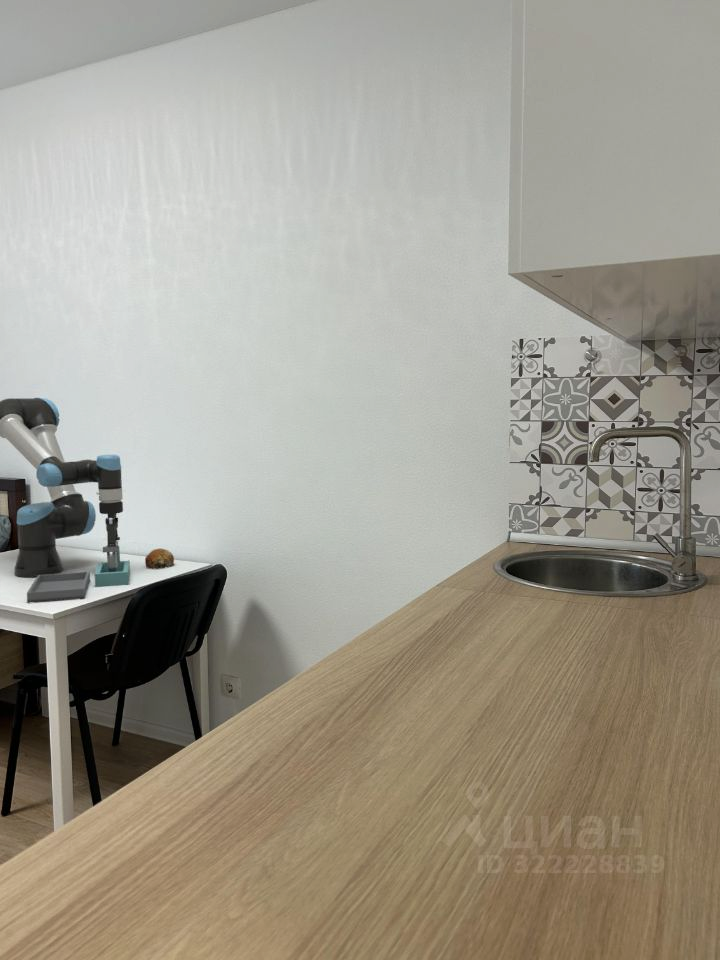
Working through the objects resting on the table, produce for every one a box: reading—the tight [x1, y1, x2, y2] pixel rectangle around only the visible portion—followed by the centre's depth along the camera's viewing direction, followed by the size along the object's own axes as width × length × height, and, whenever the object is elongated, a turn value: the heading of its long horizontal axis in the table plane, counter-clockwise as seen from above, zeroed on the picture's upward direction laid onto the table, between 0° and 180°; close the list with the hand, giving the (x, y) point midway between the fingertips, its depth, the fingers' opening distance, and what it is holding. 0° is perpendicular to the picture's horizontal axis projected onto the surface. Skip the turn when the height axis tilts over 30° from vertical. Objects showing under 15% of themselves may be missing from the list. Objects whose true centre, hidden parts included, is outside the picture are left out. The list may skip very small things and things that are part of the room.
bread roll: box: [144, 548, 175, 570], centre depth 272 cm, size 10×10×8 cm
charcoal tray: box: [26, 571, 91, 603], centre depth 237 cm, size 24×16×3 cm, turn 15°
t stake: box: [102, 545, 120, 572], centre depth 248 cm, size 2×5×12 cm, turn 105°
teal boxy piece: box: [94, 549, 131, 588], centre depth 252 cm, size 18×10×9 cm, turn 15°
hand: (114, 563), depth 260 cm, fingers open, 13 cm apart
